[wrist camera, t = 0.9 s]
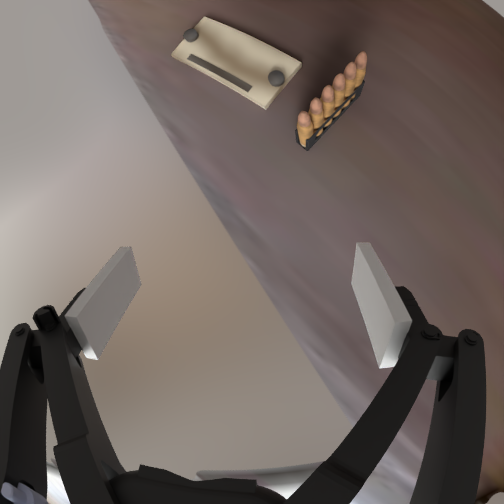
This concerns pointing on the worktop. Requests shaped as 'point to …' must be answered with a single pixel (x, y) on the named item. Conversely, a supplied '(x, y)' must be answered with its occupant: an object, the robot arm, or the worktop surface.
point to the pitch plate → (237, 60)
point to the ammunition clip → (331, 103)
